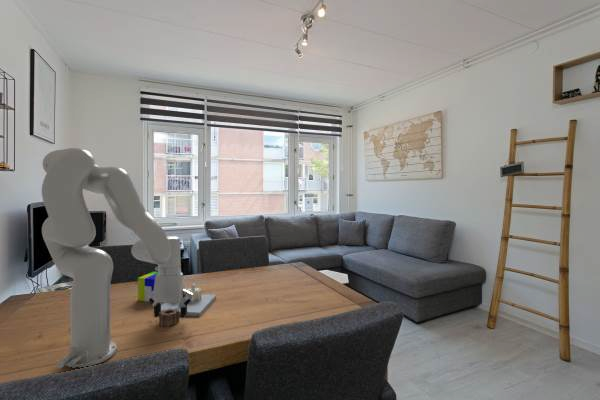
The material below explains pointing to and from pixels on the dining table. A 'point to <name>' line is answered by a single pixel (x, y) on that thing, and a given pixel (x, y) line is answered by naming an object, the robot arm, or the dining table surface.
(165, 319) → the walnut gear
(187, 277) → the dining table surface
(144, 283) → the puzzle toy
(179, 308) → the gear board
